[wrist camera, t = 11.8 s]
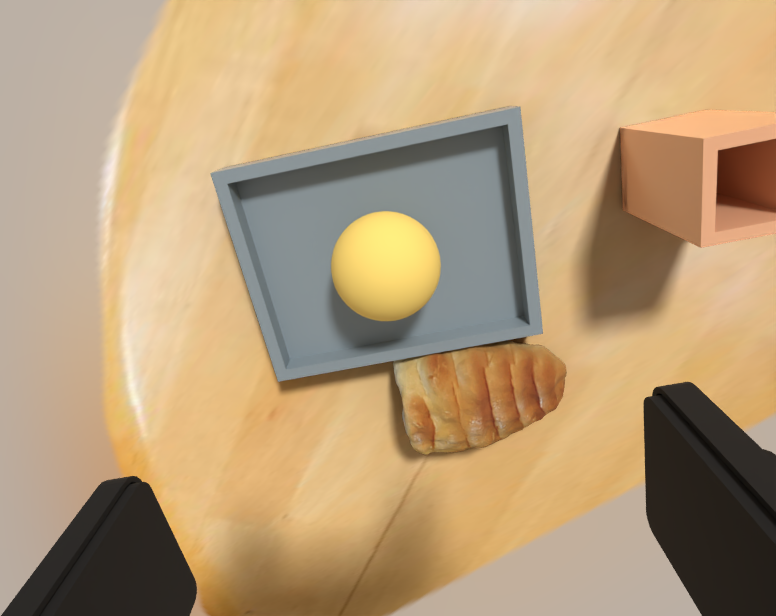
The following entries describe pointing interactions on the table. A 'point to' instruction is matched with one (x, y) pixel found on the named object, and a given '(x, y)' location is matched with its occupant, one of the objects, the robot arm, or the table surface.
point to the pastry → (476, 394)
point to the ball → (385, 266)
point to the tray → (396, 194)
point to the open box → (703, 175)
